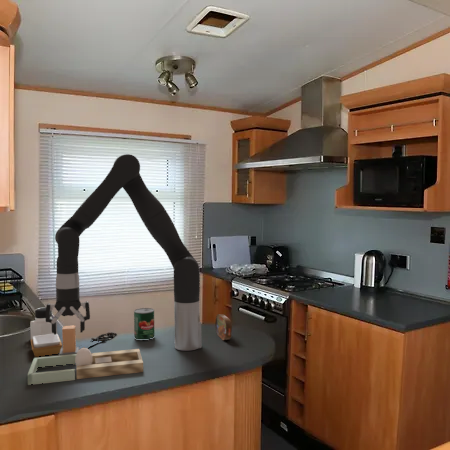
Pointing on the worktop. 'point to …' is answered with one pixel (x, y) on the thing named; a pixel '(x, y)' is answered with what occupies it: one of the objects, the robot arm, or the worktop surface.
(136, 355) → the shallow wooden box
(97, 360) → the chip block
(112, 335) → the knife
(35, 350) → the soap dish
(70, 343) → the tan block grey base
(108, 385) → the worktop surface
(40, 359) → the tray
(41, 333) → the medicine bottle
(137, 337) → the canned tomato
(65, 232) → the robot arm
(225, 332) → the tin
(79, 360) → the egg
